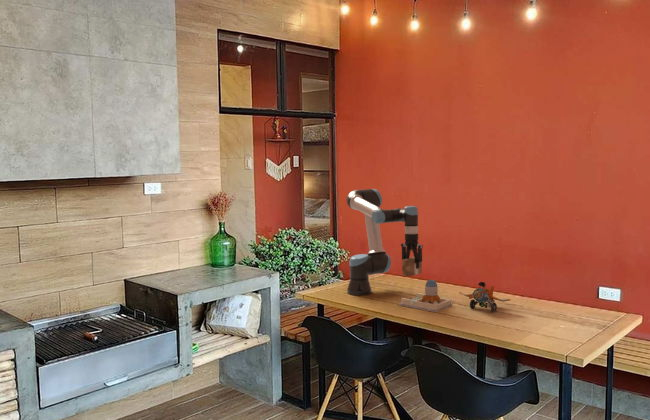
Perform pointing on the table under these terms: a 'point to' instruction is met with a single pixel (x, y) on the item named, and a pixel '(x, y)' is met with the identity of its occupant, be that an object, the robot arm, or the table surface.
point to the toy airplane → (483, 297)
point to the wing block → (410, 267)
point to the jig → (425, 303)
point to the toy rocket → (431, 292)
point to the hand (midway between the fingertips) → (412, 273)
